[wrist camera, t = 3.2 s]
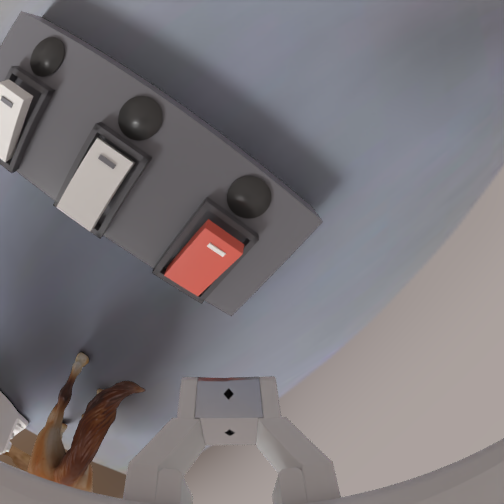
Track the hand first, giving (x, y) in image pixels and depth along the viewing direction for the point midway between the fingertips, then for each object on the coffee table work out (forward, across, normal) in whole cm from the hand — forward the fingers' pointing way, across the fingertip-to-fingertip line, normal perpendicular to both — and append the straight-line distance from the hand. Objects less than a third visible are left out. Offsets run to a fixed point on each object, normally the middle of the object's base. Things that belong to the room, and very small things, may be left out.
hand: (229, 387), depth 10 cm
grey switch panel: (+15, +10, -7) cm, 20 cm away
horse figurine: (+15, +17, +26) cm, 34 cm away
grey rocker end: (+11, +15, -9) cm, 21 cm away
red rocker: (+12, +2, +2) cm, 12 cm away
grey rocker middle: (+12, +8, -4) cm, 15 cm away
